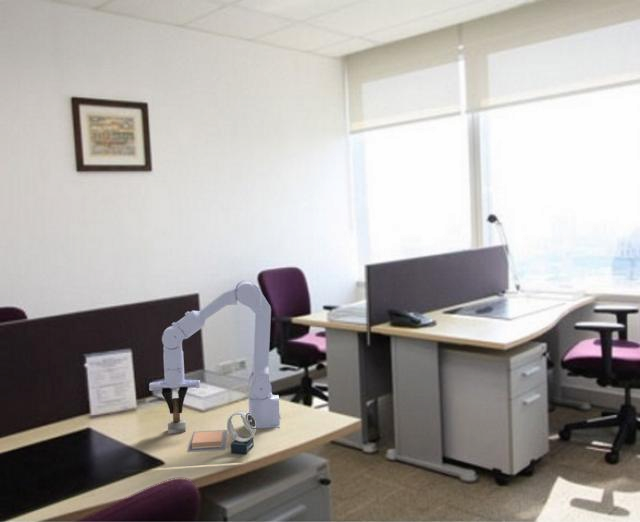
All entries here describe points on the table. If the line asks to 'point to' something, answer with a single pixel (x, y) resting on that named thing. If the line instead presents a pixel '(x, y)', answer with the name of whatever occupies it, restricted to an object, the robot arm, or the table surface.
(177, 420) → the trowel
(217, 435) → the tile
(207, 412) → the table surface
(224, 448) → the mat
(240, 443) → the watch
